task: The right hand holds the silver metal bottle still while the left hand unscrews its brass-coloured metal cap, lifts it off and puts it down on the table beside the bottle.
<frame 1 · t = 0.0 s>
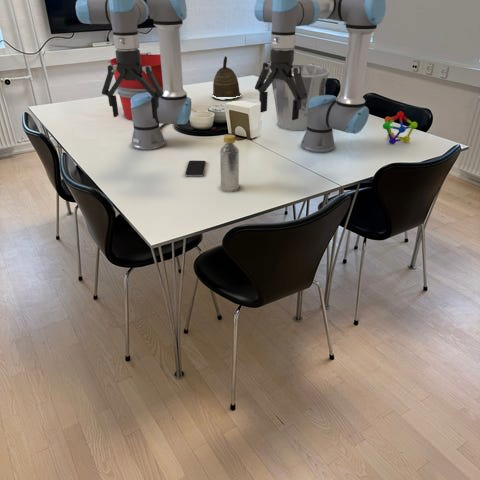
left hand: (135, 116, 150), 28 cm above the table, tool pointing down, fingers open, 13 cm apart
right hand: (279, 115, 152), 28 cm above the table, tool pointing down, fingers open, 13 cm apart
bucket: (295, 125, 233), on the table
smartphone: (195, 169, 183), on the table
bucket 2: (147, 114, 248), on the table
cap: (229, 137, 157), point 20 cm above the table, screwed on, not yet turned
bell: (226, 97, 281), on the table
bottle: (229, 188, 168), on the table
educational toy: (395, 143, 211), on the table
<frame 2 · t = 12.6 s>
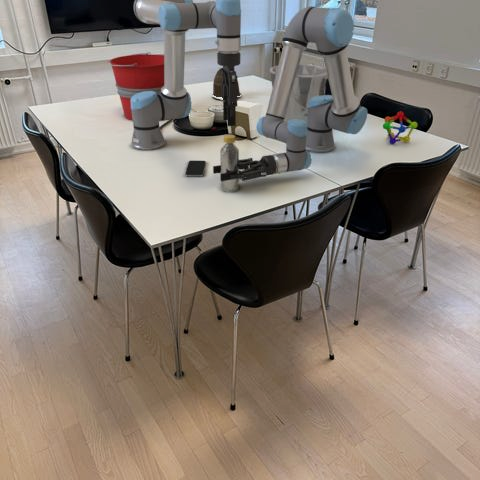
left hand: (229, 122, 154), 25 cm above the table, tool pointing down, fingers open, 6 cm apart
right hand: (217, 173, 162), 7 cm above the table, tool horizontal, fingers closed on bottle, 7 cm apart
bottle: (229, 188, 168), on the table, touching right hand
everything else where it was.
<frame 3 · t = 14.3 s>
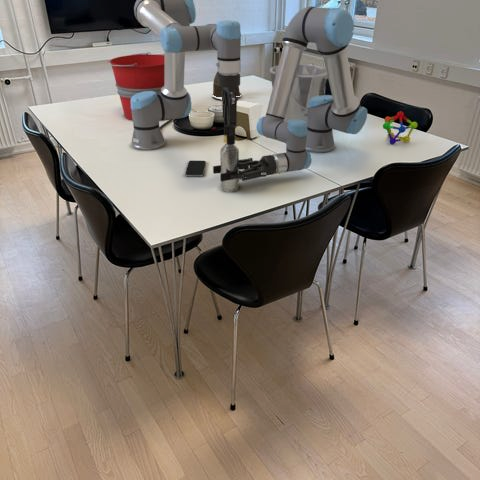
left hand: (229, 141, 158), 18 cm above the table, tool pointing down, fingers closed on cap, 4 cm apart
right hand: (217, 173, 162), 7 cm above the table, tool horizontal, fingers closed on bottle, 7 cm apart
cap: (229, 137, 157), point 20 cm above the table, screwed on, not yet turned, touching left hand
bottle: (229, 188, 168), on the table, touching right hand
everything else where it was.
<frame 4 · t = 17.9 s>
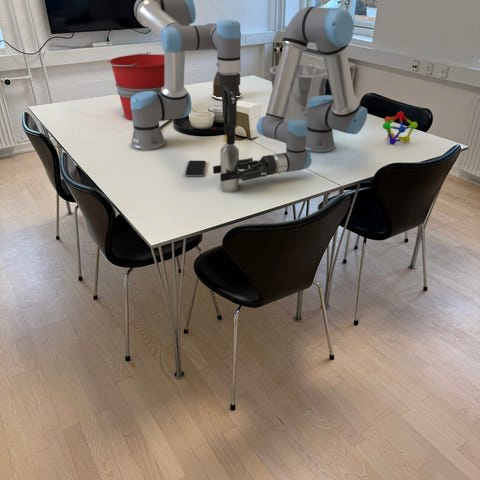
left hand: (229, 141, 158), 18 cm above the table, tool pointing down, fingers closed on cap, 4 cm apart
right hand: (217, 173, 162), 7 cm above the table, tool horizontal, fingers closed on bottle, 7 cm apart
cap: (229, 136, 157), point 20 cm above the table, turned 120° so far, risen 0.1 cm, still on its thread, touching left hand
bottle: (229, 188, 168), on the table, touching right hand
everything else where it was.
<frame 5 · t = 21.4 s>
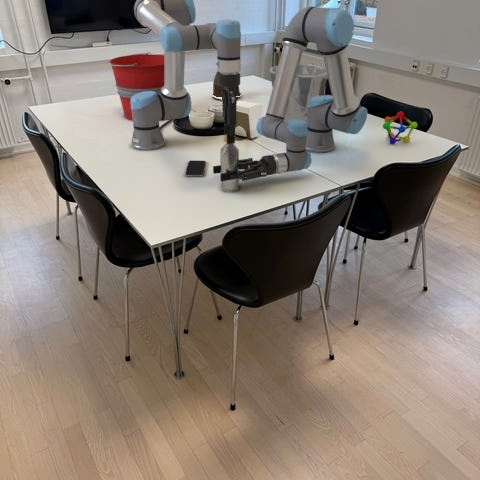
left hand: (229, 141, 158), 18 cm above the table, tool pointing down, fingers closed on cap, 4 cm apart
right hand: (217, 173, 162), 7 cm above the table, tool horizontal, fingers closed on bottle, 7 cm apart
cap: (229, 136, 157), point 20 cm above the table, turned 240° so far, risen 0.2 cm, still on its thread, touching left hand
bottle: (229, 188, 168), on the table, touching right hand
everything else where it was.
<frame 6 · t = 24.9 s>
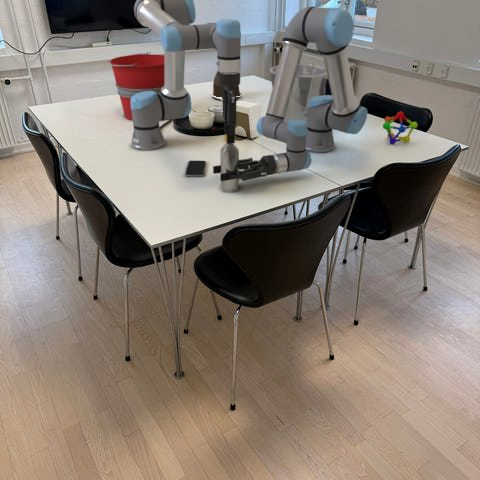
left hand: (229, 140, 158), 19 cm above the table, tool pointing down, fingers closed on cap, 4 cm apart
right hand: (217, 173, 162), 7 cm above the table, tool horizontal, fingers closed on bottle, 7 cm apart
cap: (229, 136, 157), point 20 cm above the table, turned 360° so far, risen 0.3 cm, still on its thread, touching left hand
bottle: (229, 188, 168), on the table, touching right hand
everything else where it was.
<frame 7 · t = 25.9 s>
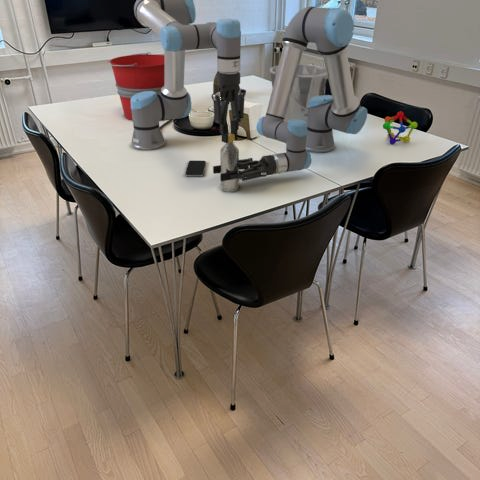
left hand: (229, 140, 158), 19 cm above the table, tool pointing down, fingers closed on cap, 4 cm apart
right hand: (217, 173, 162), 7 cm above the table, tool horizontal, fingers closed on bottle, 7 cm apart
cap: (229, 135, 157), point 20 cm above the table, off its thread, touching left hand
bottle: (229, 188, 168), on the table, touching right hand
everything else where it was.
when the left hand's fingers open (1 cm above the table, at t = 32.1 s): cap drops 1 cm, point 2 cm above the table.
when the right hand's fingers open (7 cm above the table, at t = 33.4 s): bottle stays where it is, on the table.
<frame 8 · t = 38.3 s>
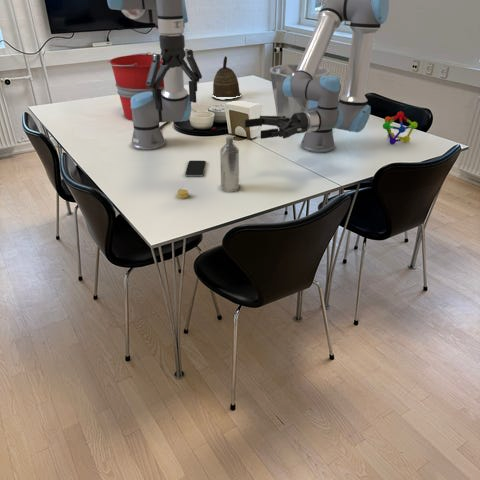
left hand: (176, 105, 144), 33 cm above the table, tool pointing down, fingers open, 13 cm apart
right hand: (252, 129, 159), 22 cm above the table, tool horizontal, fingers open, 13 cm apart
cap: (182, 192, 160), point 2 cm above the table, off its thread
bottle: (229, 188, 167), on the table
everything else where it was.
at the end: cap came off its thread; cap point 1.6 cm above the table; the left hand is holding nothing; the right hand is holding nothing; bottle tilted 0°; bottle moved 0.0 cm from its start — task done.
